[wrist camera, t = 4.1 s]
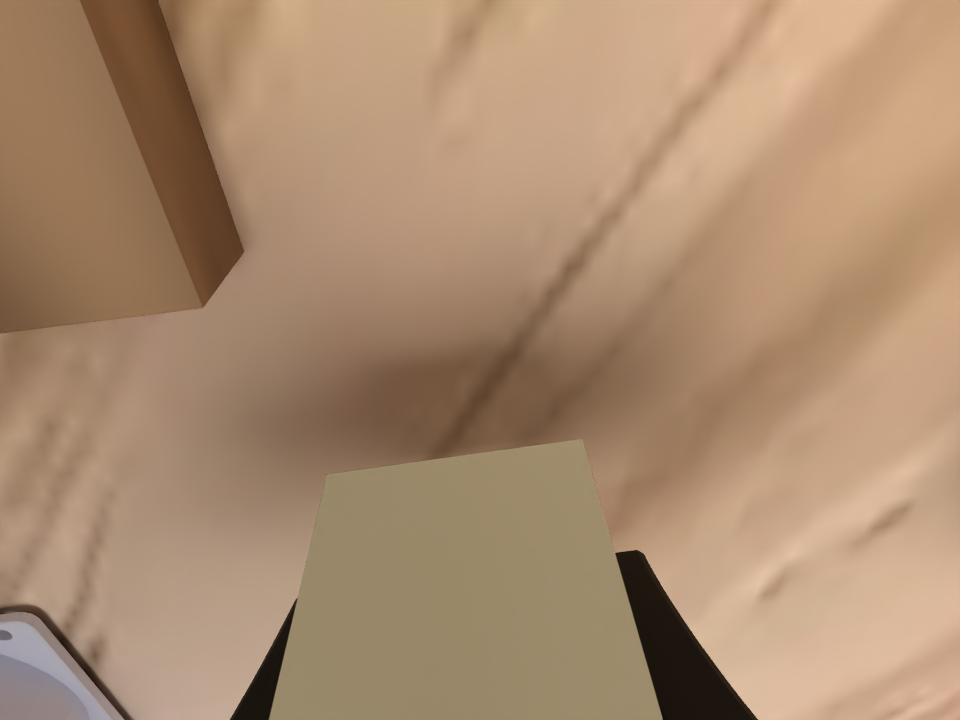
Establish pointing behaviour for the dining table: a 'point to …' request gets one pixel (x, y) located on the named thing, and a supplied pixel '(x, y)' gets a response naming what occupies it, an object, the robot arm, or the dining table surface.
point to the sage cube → (465, 597)
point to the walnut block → (102, 169)
